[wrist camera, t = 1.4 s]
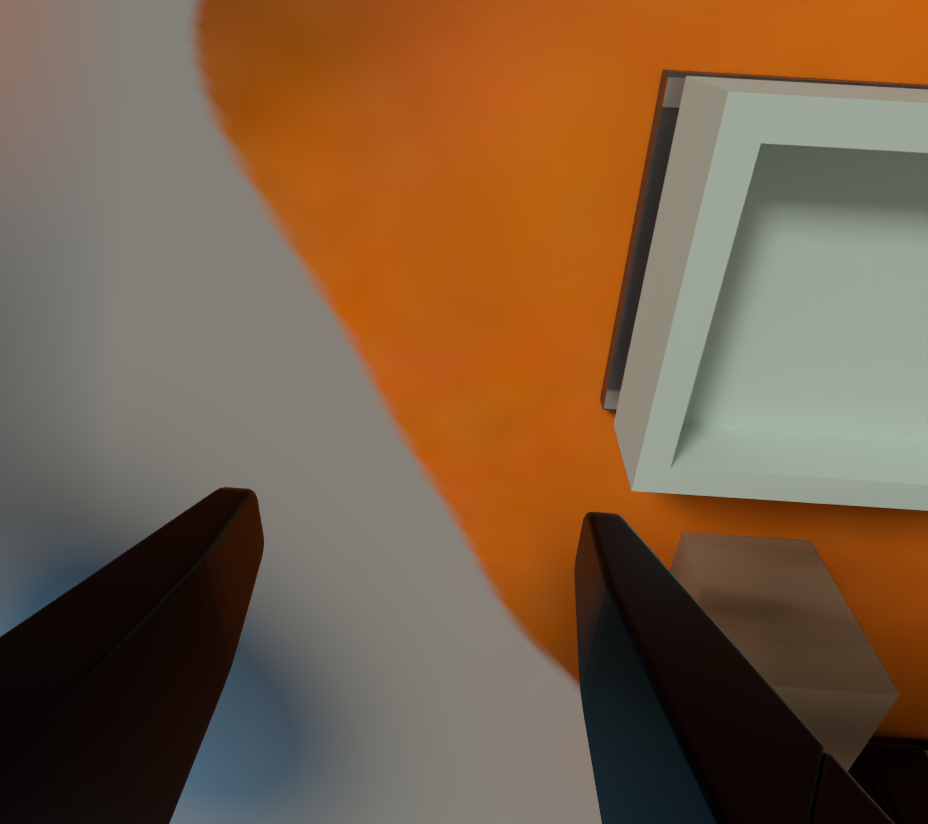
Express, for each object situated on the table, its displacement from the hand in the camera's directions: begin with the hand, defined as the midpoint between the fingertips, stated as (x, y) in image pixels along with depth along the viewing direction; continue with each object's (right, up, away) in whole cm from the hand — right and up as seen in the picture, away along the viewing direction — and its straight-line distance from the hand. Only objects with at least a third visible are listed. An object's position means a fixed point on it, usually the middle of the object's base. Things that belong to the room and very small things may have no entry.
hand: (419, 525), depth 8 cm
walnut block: (+10, -5, +16) cm, 19 cm away
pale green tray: (+12, +5, +9) cm, 16 cm away
